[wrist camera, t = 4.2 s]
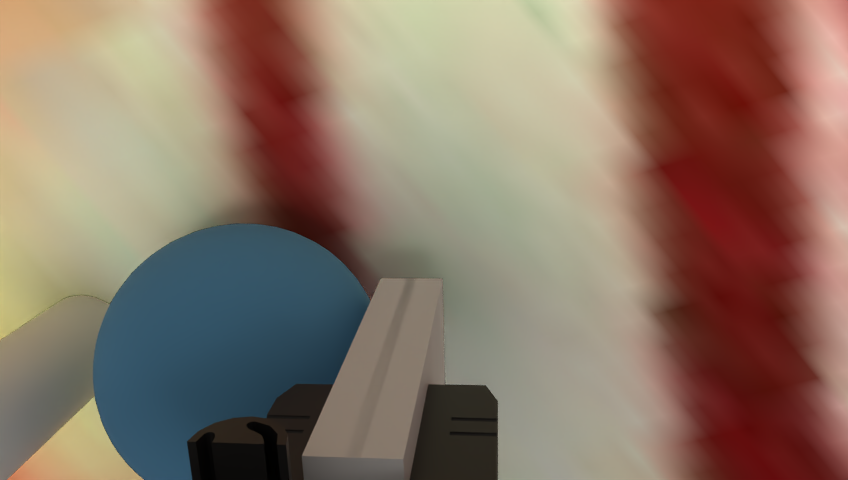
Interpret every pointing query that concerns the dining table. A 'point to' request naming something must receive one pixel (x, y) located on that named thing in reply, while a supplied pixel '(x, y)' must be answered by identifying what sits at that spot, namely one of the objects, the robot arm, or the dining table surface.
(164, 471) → the ball
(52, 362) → the pin
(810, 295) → the dining table surface
